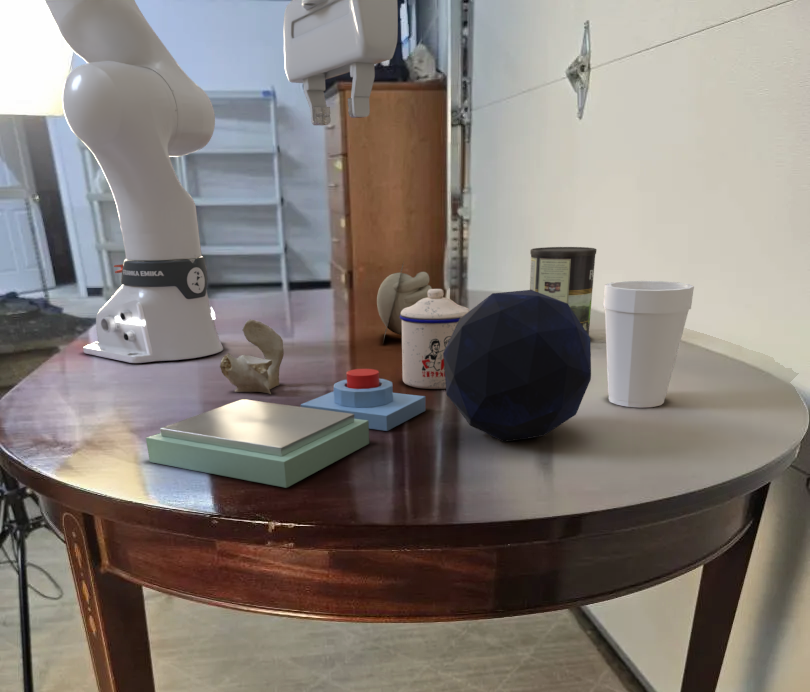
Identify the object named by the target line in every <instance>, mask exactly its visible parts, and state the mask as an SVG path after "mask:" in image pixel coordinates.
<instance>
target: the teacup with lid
mask: <svg viewBox="0 0 810 692" xmlns="http://www.w3.org/2000/svg"><path fill="white" fill-rule="evenodd" d="M444 294H445V293H444V290H443V289H442V288H432V289H430V290H428V298H424V299H421V300H419V301H418V302H417V303H416V304H414V305H412V306H410V307H407V308H404V309H403V310H402V311H401V315H400V319H402V336H401V360H402V361H401V363H402V364H401V365H402V366H401V369H402V371H401V372H402V373H401V374H402V382H403V383H404V384H405V385H407V386H408V387H412V388H416V389H424V390H446V382H445V370H444V358H443V353H444V350H445V348H446V346H447V344H448V342H449V340H450V338H451V336H452V334H453V331H454V329H455V327H456V325H457V323H458V321H459V319H460V318H461V317H463V316H464V315H465V314H466V313H468V312H469V311H470V310H471V309H469V308H468V307H466V306H464V305H460V304H457V303H456V302H455V301H453V300H452V299H451V298H448V297H444Z"/></svg>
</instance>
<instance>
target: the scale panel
mask: <svg viewBox="0 0 810 692" xmlns="http://www.w3.org/2000/svg"><path fill="white" fill-rule="evenodd" d="M393 390H394V389H393V382H392V381H391V380H388V379H385V378H379V387H376V388H369V389H353V388H348V387H347V379H341V380H340V381H338V382H335V383H334V384H333V391H331V392H328V393H326V394H323V395H320V396H318V397H316V398H313V399H311V400H308V401H306V402H303V403H301V404H300V407H305V408H313V409H320V410H328V411H335V412H343V413H351V414H354V419H361V420H368V422H369V430H377V431H384V432H388V431H391V430H392V429H394V428H396V427H398V426H400V425H402V424H403V423H405V422H407V421H409V420H412V418H415V417H416V416H419V415H420V414H422V413H424V412H426V396H425V395H416V394H410V393H409V394H408V393H407V394H406V393H399V392H393Z"/></svg>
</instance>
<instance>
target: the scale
mask: <svg viewBox="0 0 810 692" xmlns="http://www.w3.org/2000/svg"><path fill="white" fill-rule="evenodd" d="M145 441H146V447H147V454H148V459H149V462H150V463H153V464H158V465H164V466H170V467H174V468H180V469H184V470H189V471H196V472H199V473H200V472H201V473H206V474H211V475H216V476H221V477H228V478H232V479H237V480H242V481H243V480H244V481H248V482H253V483H259V484H264V485H268V486H275V487H280V488H284V489H288V488H289V487H291V486H293V485H295V484H297V483H298V482H301V481H302V480H304V479H306V478H307V477H310V476H311V475H313V474H315V473H317V472H318V471H321V470H323V469H325V468H326V467H328V466H330V465H332V464H334V463H335V462H338V461H339V460H341V459H343V458H345V457H347V456H349V455H351V454H353V453H354V452H357V451H358V450H360V449H362V448H364V447H366V446H368V445H369V444H370V429H369V422H368V420H361V419H354V414H351V413H343V412H335V411H328V410H320V409H313V408H305V407H301V406H296V405H288V404H282V403H274V402H268V401H260V400H259V401H258V400H251V399H243V398H241V399H239V400H236V401H233V402H230V403H227V404H224V405H221V406H219V407H216V408H213V409H210V410H208V411H205V412H202V413H199V414H196V415H193V416H190V417H188V418H184V419H183V420H182V419H181V420H179V421H177V422H173V423H171V424H168V425H166V426H163V427H160V432H158V433H155V434H152V435H150V436H148V437H145Z"/></svg>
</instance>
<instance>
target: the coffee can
mask: <svg viewBox="0 0 810 692" xmlns="http://www.w3.org/2000/svg"><path fill="white" fill-rule="evenodd" d="M596 255H597V248H595V247H588V246H587V247H585V246H547V247H535V248H531V249H530V271H529V290H533V291H536V292H538V293H541V294H544V295H546V296H549V297H552V298H554V299H557V300H560V301H562V302H565V303H568V305H569V306H570V308H571V309H572V311H573V312H574V314H575V315H576V317H577V318H578V320H579V321H580V323H581V324H582V326H583V327H584V329H585V331H586V332H587V334H588V335H589V336H590V328H591V327H590V326H591V325H590V324H591V314H592V313H591V312H592V301H593V300H592V299H593V288H594V277H595V264H596Z"/></svg>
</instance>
